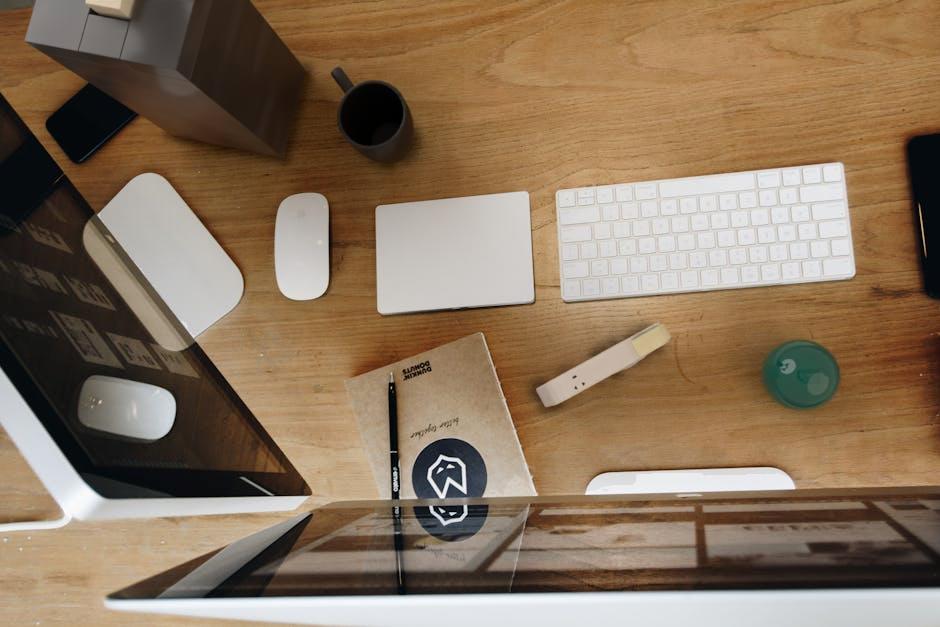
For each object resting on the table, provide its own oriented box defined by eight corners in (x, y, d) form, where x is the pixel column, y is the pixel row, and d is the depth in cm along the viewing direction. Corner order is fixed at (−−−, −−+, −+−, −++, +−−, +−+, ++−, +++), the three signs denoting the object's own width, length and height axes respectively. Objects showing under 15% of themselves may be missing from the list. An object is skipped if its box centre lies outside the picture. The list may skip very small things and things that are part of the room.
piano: (171, 135, 93) (23, 41, 67) (194, 49, 93) (57, -77, 68) (283, 158, 90) (175, 70, 65) (306, 70, 91) (208, -52, 65)
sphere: (740, 392, 81) (760, 394, 73) (767, 329, 81) (790, 324, 73) (808, 421, 80) (836, 426, 72) (835, 357, 80) (866, 355, 72)
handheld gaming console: (654, 350, 84) (546, 409, 83) (642, 329, 85) (535, 388, 84) (682, 338, 73) (558, 407, 72) (668, 315, 74) (545, 383, 73)
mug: (381, 76, 90) (361, 40, 80) (435, 147, 88) (421, 119, 79) (330, 115, 90) (304, 84, 81) (383, 186, 88) (363, 163, 79)
